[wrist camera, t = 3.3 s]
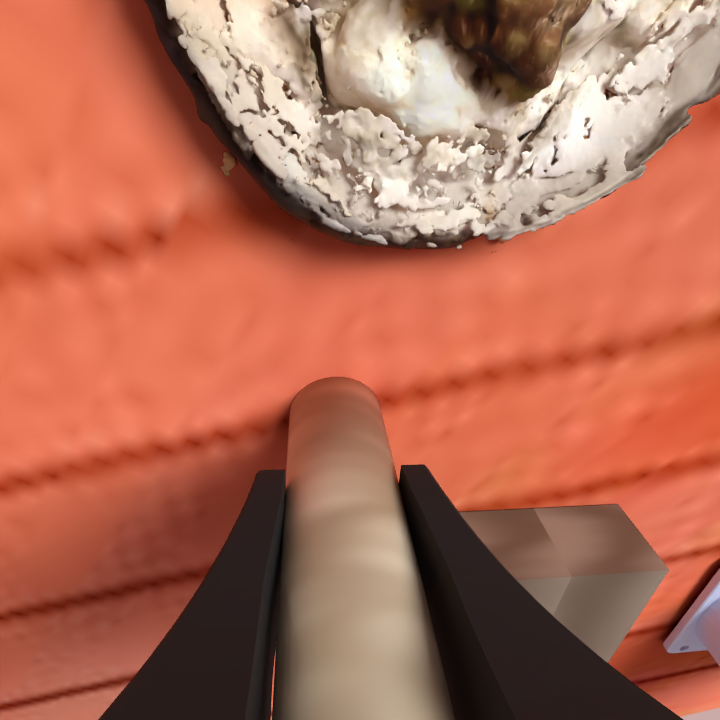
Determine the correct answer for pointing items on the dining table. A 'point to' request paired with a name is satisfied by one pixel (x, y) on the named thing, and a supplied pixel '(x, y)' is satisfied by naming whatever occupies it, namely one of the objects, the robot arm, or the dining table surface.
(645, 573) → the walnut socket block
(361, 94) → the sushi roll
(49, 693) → the dining table surface
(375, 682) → the beech peg
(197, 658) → the robot arm
